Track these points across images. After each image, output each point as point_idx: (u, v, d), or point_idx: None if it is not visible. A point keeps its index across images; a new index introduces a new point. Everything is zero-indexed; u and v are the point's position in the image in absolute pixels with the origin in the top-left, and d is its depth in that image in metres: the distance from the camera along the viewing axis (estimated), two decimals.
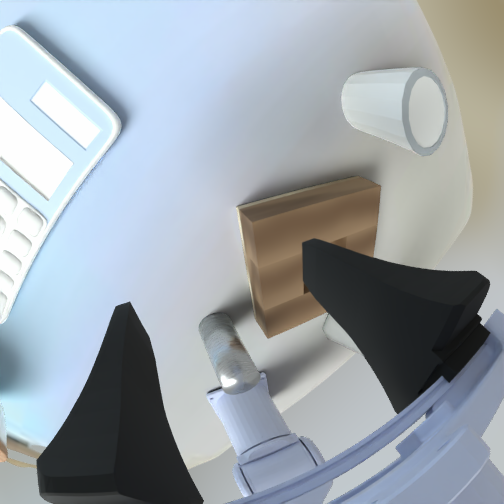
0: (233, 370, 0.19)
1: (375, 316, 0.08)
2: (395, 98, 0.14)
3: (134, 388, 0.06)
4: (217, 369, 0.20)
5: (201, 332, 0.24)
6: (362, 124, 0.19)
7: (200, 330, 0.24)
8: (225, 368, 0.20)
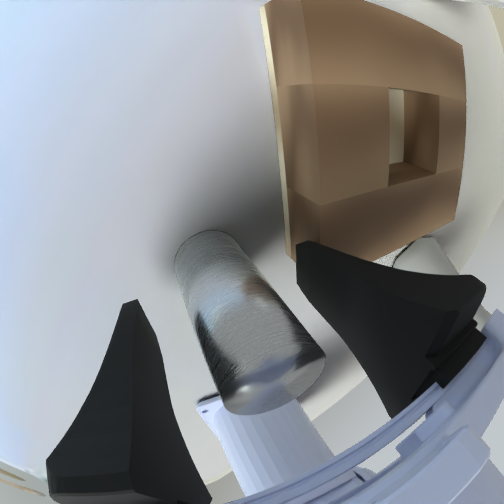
0: (255, 346, 0.06)
1: (368, 320, 0.08)
2: None
3: (144, 385, 0.06)
4: (208, 347, 0.07)
5: (178, 270, 0.11)
6: None
7: (176, 267, 0.11)
8: (232, 342, 0.07)
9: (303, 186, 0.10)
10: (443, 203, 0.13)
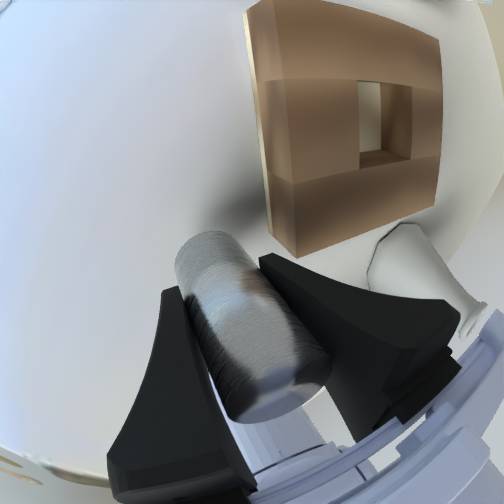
0: (260, 354, 0.06)
1: (327, 343, 0.07)
2: None
3: (199, 368, 0.07)
4: (210, 354, 0.07)
5: (178, 272, 0.11)
6: None
7: (177, 269, 0.11)
8: (235, 350, 0.06)
9: (279, 168, 0.12)
10: (420, 188, 0.15)
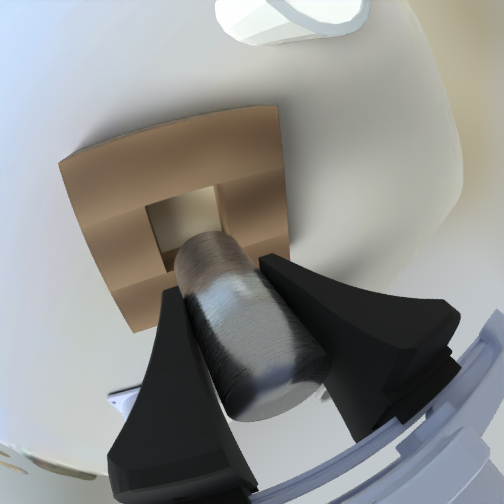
0: (263, 349, 0.06)
1: (327, 344, 0.07)
2: None
3: (199, 368, 0.07)
4: (211, 349, 0.07)
5: (178, 268, 0.11)
6: (235, 25, 0.11)
7: (177, 266, 0.11)
8: (239, 344, 0.07)
9: None
10: None
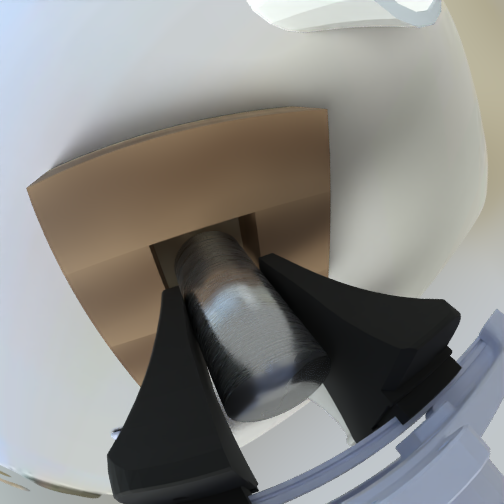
0: (264, 349, 0.06)
1: (327, 343, 0.07)
2: None
3: (199, 368, 0.07)
4: (212, 349, 0.07)
5: (178, 268, 0.11)
6: (272, 1, 0.08)
7: (177, 266, 0.11)
8: (239, 345, 0.07)
9: None
10: None
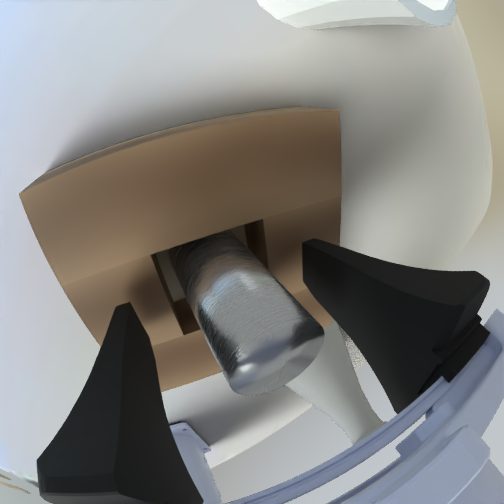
0: (264, 319, 0.07)
1: (375, 316, 0.08)
2: None
3: (134, 388, 0.06)
4: (213, 324, 0.08)
5: (175, 254, 0.11)
6: None
7: (173, 252, 0.12)
8: (240, 317, 0.07)
9: None
10: None
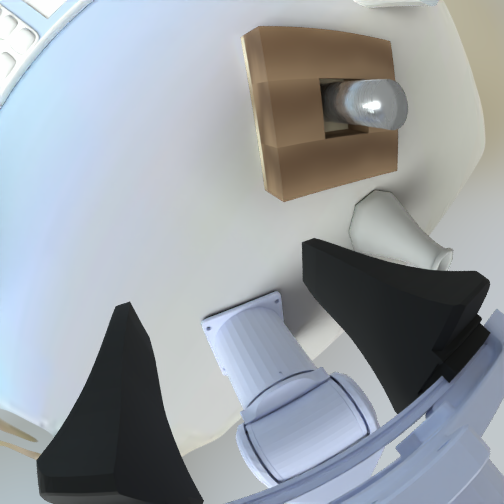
0: (383, 79, 0.12)
1: (375, 316, 0.08)
2: None
3: (134, 388, 0.06)
4: (358, 87, 0.13)
5: None
6: None
7: None
8: (372, 80, 0.13)
9: (268, 139, 0.17)
10: (381, 155, 0.20)
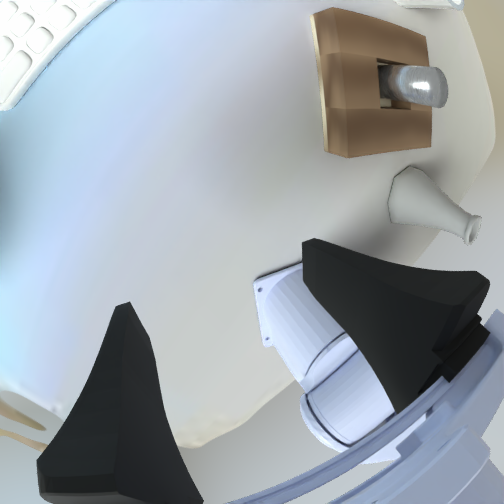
0: None
1: (375, 316, 0.08)
2: None
3: (134, 388, 0.06)
4: (412, 69, 0.14)
5: None
6: None
7: None
8: (423, 66, 0.13)
9: (335, 102, 0.17)
10: (420, 131, 0.20)
